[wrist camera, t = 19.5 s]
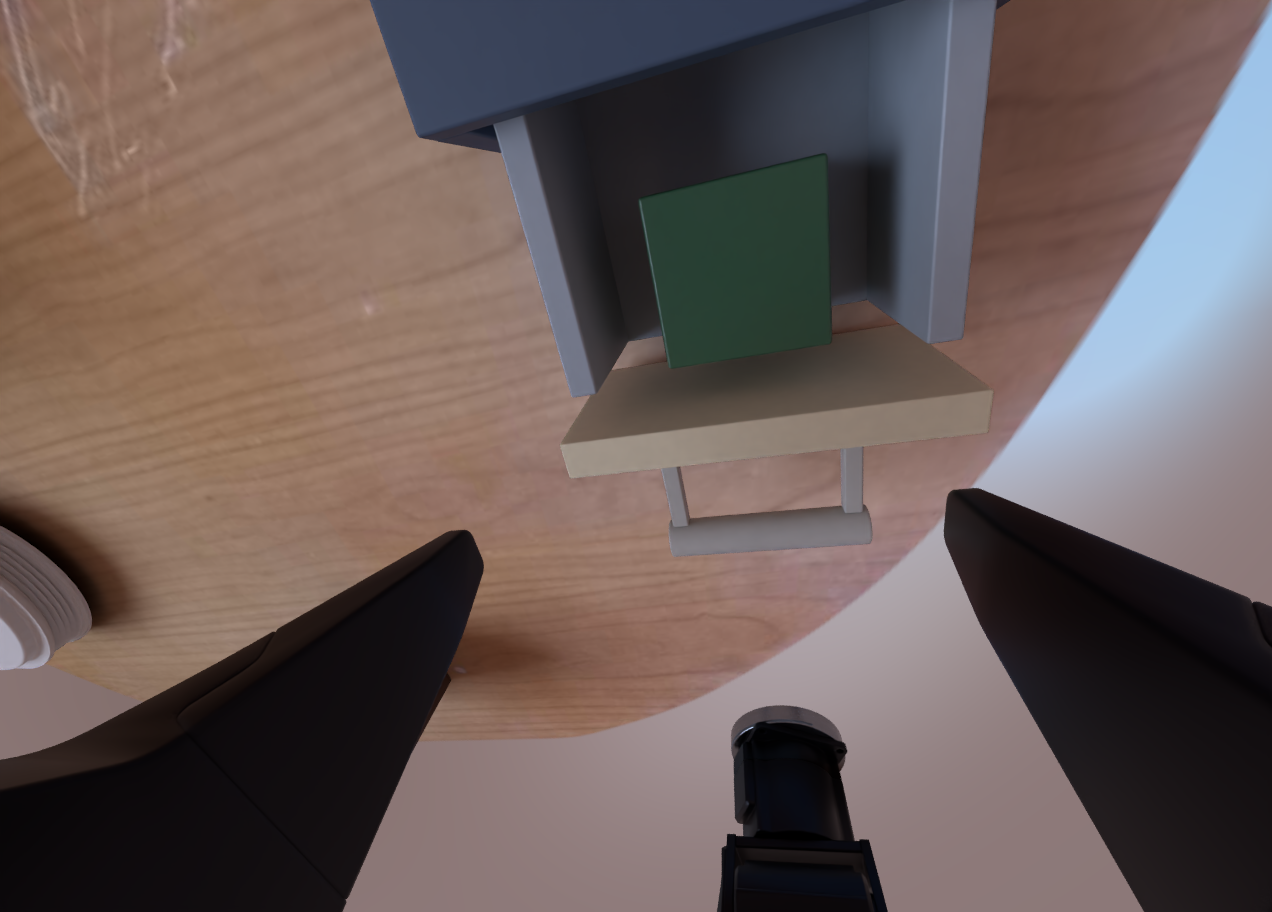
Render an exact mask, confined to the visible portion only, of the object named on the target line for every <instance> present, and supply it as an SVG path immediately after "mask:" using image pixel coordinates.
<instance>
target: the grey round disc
mask: <svg viewBox="0 0 1272 912" xmlns="http://www.w3.org/2000/svg"><path fill="white" fill-rule="evenodd" d="M91 626H92V616H91V612H90V609H89V607H88V604H87V602H86V600H85V599H84V597H83V595H82V594H81V592H80V591H79V590H78V588H77V587H76V585H75V584H74V583H73V582H72V581H71V580H70V578H69V577H68V576H67V575H66V574H65V573H64V572H63V571H62V570H61V569H60V568H59V567H58V566H57V565H56V564H55V563H53V562H52V561H51V560H50V559H49V558H48V557H47V556H45V555H44V554H43V553H41V552H40V551H39V550H38V549H36V548H35V547H34V546H32V545H31V544H29V543H28V542H26V541H25V540H23V539H22V538H20V537H19V536H17V535H16V534H14V533H12V532H11V531H9V530H7V529H5V528H4V527H2V526H0V670H11V669H15V668H23V669H30V668H36V667H39V666H41V665H43V664H45V663H46V662H48V661H49V660H50V659H51V658H52V657H53V655H54V652H55V651H56V650H58V649H59V648H61V647H62V646H64V645H65V644H66V643H68V642H72V641H76V640H79V639H80V638H82V637H83V636H85V635H86V634H87V633H88V632H89V631H90V629H91Z"/></svg>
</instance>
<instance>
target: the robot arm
mask: <svg viewBox="0 0 1272 912" xmlns="http://www.w3.org/2000/svg"><path fill="white" fill-rule="evenodd" d="M944 538H945V543H946V546H947V548H948V550H949V553H950V555H951V557H952V560H953V562H954V565H955V567H956V569H957V572H958V574H959V576H960V579H961V581H962V584H963V586H964V588H965V591H966V593H967V595H968V598H969V600H970V603H971V605H972V607H973V609H974V612H975V614H976V616H977V618H978V621H979V623H980V625H981V627H982V629H983V631H984V632H985V634H986V636H987V638H988V640H989V641H990V643H991V645H992V647H993V648H994V650H995V652H996V654H997V655H998V657H999V659H1000V661H1001V662H1002V664H1003V666H1004V668H1005V669H1006V671H1007V673H1008V675H1009V676H1010V678H1011V680H1012V682H1013V683H1014V685H1015V687H1016V689H1017V690H1018V692H1019V694H1020V696H1021V697H1022V699H1023V701H1024V703H1025V704H1026V706H1027V708H1028V710H1029V711H1030V713H1031V715H1032V717H1033V718H1034V720H1035V722H1036V724H1037V725H1038V727H1039V729H1040V730H1041V732H1042V734H1043V736H1044V738H1045V739H1046V741H1047V743H1048V745H1049V746H1050V748H1051V750H1052V751H1053V753H1054V755H1055V757H1056V758H1057V760H1058V762H1059V763H1060V765H1061V767H1062V769H1063V771H1064V772H1065V774H1066V776H1067V778H1068V779H1069V781H1070V783H1071V785H1072V786H1073V788H1074V790H1075V792H1076V793H1077V795H1078V797H1079V799H1080V800H1081V802H1082V803H1083V806H1084V807H1085V809H1086V811H1087V813H1088V814H1089V816H1090V818H1091V820H1092V821H1093V823H1094V825H1095V827H1096V828H1097V830H1098V832H1099V834H1100V835H1101V837H1102V839H1103V840H1104V842H1105V844H1106V846H1107V848H1108V849H1109V851H1110V853H1111V854H1112V856H1113V858H1114V860H1115V862H1116V863H1117V865H1118V867H1119V869H1120V870H1121V872H1122V874H1123V876H1124V877H1125V879H1126V881H1127V882H1128V884H1129V886H1130V888H1131V890H1132V891H1133V893H1134V895H1135V897H1136V898H1137V900H1138V902H1139V904H1140V905H1141V907H1142V909H1143V911H1144V912H1272V607H1271V606H1268V605H1266V604H1264V603H1261V602H1253V603H1252V602H1251V600H1250V599H1249V598H1248V597H1246V596H1243V595H1241V594H1238V593H1236V592H1234V591H1231V590H1229V589H1226V588H1224V587H1221V586H1219V585H1216V584H1214V583H1211V582H1209V581H1206V580H1204V579H1201V578H1199V577H1196V576H1194V575H1192V574H1189V573H1187V572H1184V571H1182V570H1179V569H1177V568H1174V567H1172V566H1169V565H1167V564H1164V563H1162V562H1159V561H1157V560H1154V559H1152V558H1150V557H1147V556H1145V555H1142V554H1139V553H1137V552H1135V551H1132V550H1130V549H1127V548H1125V547H1122V546H1120V545H1117V544H1115V543H1112V542H1110V541H1107V540H1105V539H1102V538H1100V537H1098V536H1095V535H1093V534H1090V533H1088V532H1085V531H1083V530H1080V529H1078V528H1075V527H1073V526H1071V525H1068V524H1066V523H1063V522H1061V521H1058V520H1055V519H1053V518H1051V517H1048V516H1046V515H1043V514H1041V513H1038V512H1036V511H1033V510H1031V509H1028V508H1026V507H1023V506H1021V505H1019V504H1016V503H1014V502H1011V501H1009V500H1006V499H1004V498H1001V497H999V496H996V495H994V494H991V493H989V492H986V491H984V490H982V489H979V488H970V489H959V490H952V491H951V492H950V493H949V494H948V497H947V503H946V513H945V523H944ZM483 570H484V563H483V559H482V557H481V554H480V552H479V550H478V547H477V545H476V543H475V540H474V538H473V536H472V534H471V533H470V532H469V531H467V530H456V531H449V532H446V533H445V534H443V535H441V536H439V537H438V538H436V539H434V540H432V541H431V542H429V543H427V544H425V545H424V546H422V547H420V548H418V549H417V550H415V551H413V552H411V553H410V554H408V555H406V556H404V557H403V558H401V559H399V560H397V561H396V562H394V563H392V564H390V565H389V566H387V567H385V568H383V569H382V570H380V571H378V572H376V573H375V574H373V575H371V576H369V577H368V578H366V579H364V580H362V581H361V582H359V583H357V584H355V585H354V586H352V587H350V588H348V589H347V590H345V591H343V592H341V593H340V594H338V595H336V596H334V597H333V598H331V599H329V600H327V601H326V602H324V603H322V604H320V605H319V606H317V607H315V608H313V609H312V610H310V611H308V612H306V613H305V614H303V615H301V616H299V617H298V618H296V619H294V620H292V621H291V622H289V623H287V624H285V625H284V626H282V627H280V628H278V629H277V631H276V632H271V633H270V634H268V635H266V636H264V637H263V638H261V639H259V640H257V641H256V642H254V643H252V644H250V645H248V646H247V647H245V648H243V649H241V650H240V651H238V652H236V653H234V654H232V655H231V656H229V657H227V658H225V659H223V660H222V661H220V662H218V663H216V664H214V665H212V666H211V667H209V668H207V669H205V670H203V671H201V672H199V673H197V674H196V675H194V676H192V677H190V678H188V679H186V680H184V681H183V682H181V683H179V684H177V685H175V686H173V687H171V688H169V689H167V690H165V691H164V692H162V693H160V694H158V695H156V696H154V697H152V698H150V699H148V700H146V701H144V702H143V703H141V704H139V705H137V706H135V707H133V708H131V709H129V710H127V711H125V712H124V713H122V714H120V715H118V716H116V717H114V718H112V719H110V720H108V721H106V722H104V723H103V724H101V725H99V726H97V727H95V728H93V729H91V730H89V731H88V732H85V733H83V734H81V735H79V736H77V737H75V738H73V739H70V740H68V741H65V742H63V743H60V744H58V745H55V746H52V747H49V748H46V749H43V750H41V751H37V752H34V753H30V754H26V755H22V756H19V757H13V758H8V759H2V760H0V912H342V911H343V909H344V907H345V904H346V900H345V899H347V898H348V897H349V895H350V892H351V890H352V888H353V886H354V883H355V881H356V879H357V876H358V874H359V872H360V869H361V867H362V865H363V863H364V860H365V858H366V856H367V854H368V851H369V849H370V847H371V844H372V842H373V840H374V838H375V835H376V833H377V831H378V828H379V826H380V824H381V822H382V819H383V817H384V815H385V812H386V810H387V808H388V806H389V803H390V801H391V799H392V796H393V794H394V792H395V790H396V787H397V785H398V782H399V780H400V778H401V776H402V773H403V771H404V769H405V766H406V764H407V762H408V760H409V758H410V755H411V753H412V751H413V748H414V746H415V744H416V742H417V739H418V737H419V735H420V732H421V730H422V728H423V726H424V723H425V721H426V719H427V716H428V714H429V712H430V710H431V707H432V705H433V703H434V700H435V698H436V696H437V694H438V691H439V689H440V687H441V684H442V682H443V680H444V678H445V675H446V673H447V671H448V668H449V666H450V664H451V662H452V659H453V657H454V655H455V652H456V650H457V648H458V645H459V643H460V640H461V638H462V635H463V633H464V630H465V627H466V624H467V621H468V618H469V615H470V612H471V608H472V605H473V602H474V599H475V596H476V593H477V590H478V587H479V584H480V581H481V578H482V574H483ZM846 754H847V747H846V744H845V743H844V742H841V741H837V740H833V739H829V738H825V737H821V736H817V735H813V734H809V733H805V732H802V731H798V730H794V729H790V728H786V727H782V726H778V725H774V724H770V723H766V722H757V723H756V724H755V725H754V727H753V729H752V731H751V733H750V735H749V737H748V739H747V741H745V742H744V743H743V744H742V745H741V747H740V749H739V751H738V753H737V755H736V757H735V759H734V792H735V793H734V796H735V819H736V820H737V822H738V823H740V824H743V835H744V836H736V834H727V846H725V847H723V848H722V878H721V888H720V894H719V902H718V908H717V912H888V911H887V907H886V903H885V899H884V895H883V892H882V888H881V884H880V880H879V876H878V873H877V869H876V865H875V861H874V858H873V854H872V850H871V846H870V842H869V840H864V839H860V841H855V840H854V835H853V830H852V826H851V821H850V816H849V812H848V807H847V802H846V797H845V793H844V788H843V783H842V778H841V774H840V769H839V763H840V762H841V760H842V759H843V758H844V756H845V755H846Z"/></svg>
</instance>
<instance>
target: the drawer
mask: <svg viewBox="0 0 1272 912" xmlns="http://www.w3.org/2000/svg"><path fill="white" fill-rule="evenodd" d="M996 4H997V0H905V1H902V2H898V3H895V4H892V5H888V6H885V7H882V8H878V9H875V10H872V11H868V12H865V13H862V14H858V15H855V16H852V17H848V18H845V19H842V20H838V21H835V22H832V23H828V24H825V25H822V26H818V27H815V28H812V29H808V30H805V31H802V32H798V33H795V34H792V35H789V36H785V37H782V38H779V39H775V40H772V41H769V42H765V43H762V44H759V45H755V46H752V47H749V48H745V49H742V50H739V51H735V52H732V53H729V54H725V55H722V56H719V57H715V58H712V59H709V60H705V61H702V62H699V63H695V64H692V65H689V66H685V67H682V68H679V69H675V70H672V71H669V72H665V73H662V74H659V75H655V76H652V77H649V78H645V79H642V80H639V81H635V82H632V83H629V84H625V85H622V86H619V87H615V88H612V89H609V90H605V91H602V92H599V93H595V94H592V95H589V96H585V97H582V98H579V99H575V100H572V101H569V102H565V103H562V104H559V105H555V106H552V107H549V108H545V109H542V110H539V111H535V112H532V113H529V114H525V115H522V116H519V117H515V118H512V119H509V120H505V121H502V122H499V123H495V124H493V125H494V128H495V132H496V135H497V139H498V142H499V146H500V149H501V153H502V156H503V160H504V163H505V167H506V170H507V174H508V177H509V181H510V184H511V188H512V191H513V195H514V198H515V201H516V205H517V208H518V212H519V215H520V219H521V222H522V226H523V229H524V233H525V236H526V240H527V243H528V247H529V250H530V254H531V257H532V261H533V264H534V268H535V271H536V275H537V278H538V282H539V285H540V289H541V292H542V296H543V299H544V302H545V306H546V309H547V313H548V316H549V320H550V323H551V327H552V330H553V334H554V337H555V341H556V344H557V348H558V351H559V355H560V358H561V362H562V365H563V369H564V372H565V376H566V379H567V383H568V386H569V390H570V393H571V396H572V397H580V396H587V395H591V396H590V397H589V399H588V401H587V402H586V404H585V405H584V407H583V409H582V410H581V412H580V413H579V415H578V417H577V418H576V420H575V421H574V423H573V425H572V426H571V428H570V429H569V431H568V433H567V434H566V436H565V437H564V439H563V441H562V442H561V444H560V448H561V451H562V454H563V457H564V460H565V464H566V467H567V470H568V473H569V476H570V478H580V477H589V476H598V475H607V474H616V473H626V472H635V471H644V470H653V469H661V470H662V475H663V480H664V485H665V489H666V494H667V499H668V503H669V508H670V513H671V517H672V520H671V521H670V523H669V542H670V549H671V552H672V555H673V556H674V557H678V556H693V555H709V554H724V553H739V552H754V551H769V550H784V549H799V548H815V547H830V546H845V545H860V544H870V543H871V541H872V524H871V518H870V514H869V511H868V509H867V507H866V505H864V504H863V447H864V446H873V445H882V444H891V443H900V442H910V441H919V440H928V439H937V438H946V437H955V436H965V435H974V434H983V433H988V431H989V423H990V416H991V409H992V401H993V394H994V390H993V389H992V388H990V387H989V386H988V385H986V384H985V383H983V382H982V381H981V380H979V379H978V378H977V377H975V376H974V375H972V374H971V373H970V372H968V371H967V370H965V369H964V368H963V367H961V366H960V365H958V364H957V363H956V362H954V361H953V360H951V359H950V358H949V357H947V356H946V355H944V354H943V353H942V352H940V351H939V350H937V349H936V348H935V347H933V346H932V345H930V344H934V343H940V342H947V341H954V340H960V339H962V338H963V335H964V325H965V315H966V305H967V295H968V285H969V275H970V265H971V255H972V245H973V235H974V225H975V215H976V205H977V195H978V185H979V175H980V165H981V155H982V145H983V135H984V125H985V115H986V104H987V94H988V84H989V74H990V64H991V54H992V44H993V34H994V24H995V14H996ZM821 153H826V154H827V156H828V179H829V222H830V265H831V306H836V305H842V304H848V303H853V302H859V301H865V300H868V301H869V302H870V303H872V304H873V305H875V306H876V307H877V308H879V309H880V310H881V311H883V312H884V313H886V314H887V315H888V316H890V317H891V318H893V319H894V320H895V321H897V322H898V323H899V324H897V325H890V326H884V327H878V328H872V329H865V330H859V331H853V332H847V333H841V334H834V335H832V342H831V343H830V344H828V345H822V346H815V347H809V348H803V349H796V350H790V351H783V352H777V353H771V354H764V355H758V356H751V357H745V358H738V359H732V360H726V361H719V362H713V363H706V364H700V365H694V366H687V367H681V368H674V369H670V368H669V367H668V362H667V361H666V362H660V363H654V364H648V365H641V366H635V367H629V368H623V369H616V370H611V369H612V368H613V366H614V364H615V363H616V361H617V359H618V358H619V356H620V354H621V353H622V351H623V349H624V348H625V346H626V344H627V343H628V342H629V341H634V340H640V339H646V338H652V337H657V336H663V335H662V330H661V324H660V319H659V313H658V308H657V302H656V297H655V291H654V286H653V281H652V275H651V270H650V264H649V259H648V253H647V248H646V243H645V237H644V232H643V226H642V221H641V215H640V210H639V204H638V200H639V198H641V197H643V196H647V195H652V194H656V193H660V192H664V191H668V190H672V189H676V188H680V187H685V186H689V185H693V184H697V183H701V182H705V181H709V180H714V179H718V178H722V177H726V176H730V175H734V174H738V173H742V172H747V171H751V170H755V169H759V168H763V167H767V166H771V165H775V164H780V163H784V162H788V161H792V160H796V159H800V158H804V157H809V156H813V155H817V154H821ZM836 449H840V452H841V504H842V506H833V507H821V508H809V509H797V510H785V511H773V512H761V513H749V514H737V515H725V516H713V517H701V518H690V516H689V511H688V505H687V500H686V495H685V490H684V484H683V479H682V474H681V469H680V467H681V466H690V465H699V464H708V463H717V462H726V461H736V460H745V459H754V458H763V457H772V456H781V455H790V454H800V453H809V452H818V451H827V450H836Z"/></svg>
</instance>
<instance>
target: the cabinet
mask: <svg viewBox="0 0 1272 912" xmlns="http://www.w3.org/2000/svg"><path fill="white" fill-rule="evenodd" d="M902 1H905V0H370V2H371V5H372V8H373V11H374V14H375V16H376V19H377V22H378V25H379V28H380V31H381V34H382V36H383V39H384V42H385V45H386V48H387V51H388V54H389V56H390V59H391V62H392V65H393V68H394V71H395V74H396V76H397V79H398V82H399V85H400V88H401V91H402V93H403V96H404V99H405V102H406V105H407V108H408V111H409V113H410V116H411V119H412V122H413V125H414V128H415V131H416V133H417V135H418V137H419V138H424V139H429V140H435V141H438V142H444V143H449V144H455V145H460V146H466V147H471V148H477V149H483V150H488V151H494V152H499V153H501V149H500V146H499V142H498V139H497V135H496V132H495V128H494V125H493V124H495V123H499V122H502V121H505V120H509V119H512V118H515V117H519V116H522V115H525V114H529V113H532V112H535V111H539V110H542V109H545V108H549V107H552V106H555V105H559V104H562V103H565V102H569V101H572V100H575V99H579V98H582V97H585V96H589V95H592V94H595V93H599V92H602V91H605V90H609V89H612V88H615V87H619V86H622V85H625V84H629V83H632V82H635V81H639V80H642V79H645V78H649V77H652V76H655V75H659V74H662V73H665V72H669V71H672V70H675V69H679V68H682V67H685V66H689V65H692V64H695V63H699V62H702V61H705V60H709V59H712V58H715V57H719V56H722V55H725V54H729V53H732V52H735V51H739V50H742V49H745V48H749V47H752V46H755V45H759V44H762V43H765V42H769V41H772V40H775V39H779V38H782V37H785V36H789V35H792V34H795V33H798V32H802V31H805V30H808V29H812V28H815V27H818V26H822V25H825V24H828V23H832V22H835V21H838V20H842V19H845V18H848V17H852V16H855V15H858V14H862V13H865V12H868V11H872V10H875V9H878V8H882V7H885V6H888V5H892V4H895V3H898V2H902ZM1009 1H1010V0H997V4H996V9H998V8H999V7H1001V6H1002V5H1004V4H1005V3H1007V2H1009Z"/></svg>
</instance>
